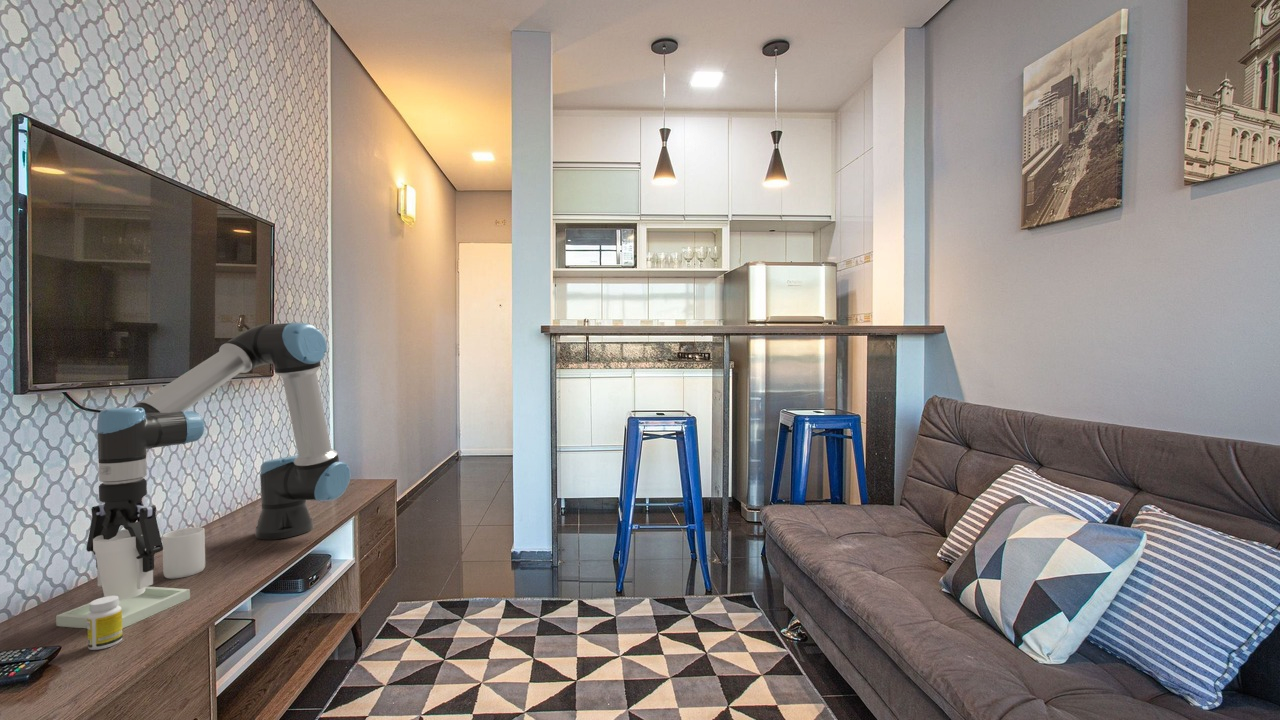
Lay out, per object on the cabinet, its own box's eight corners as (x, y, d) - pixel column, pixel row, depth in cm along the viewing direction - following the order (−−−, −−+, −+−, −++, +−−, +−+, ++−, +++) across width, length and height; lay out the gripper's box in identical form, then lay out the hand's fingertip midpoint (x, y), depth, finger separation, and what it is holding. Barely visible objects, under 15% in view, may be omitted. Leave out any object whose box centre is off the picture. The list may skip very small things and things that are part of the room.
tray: (135, 594, 129) (134, 585, 129) (189, 598, 126) (189, 589, 126) (56, 625, 114) (56, 615, 114) (116, 631, 111) (116, 620, 111)
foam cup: (83, 607, 114) (81, 543, 114) (112, 589, 123) (110, 530, 123) (139, 600, 117) (137, 538, 116) (163, 583, 126) (162, 525, 125)
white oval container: (176, 564, 147) (175, 525, 147) (214, 560, 150) (213, 521, 150) (157, 581, 136) (156, 539, 136) (199, 575, 139) (198, 534, 139)
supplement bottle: (129, 637, 109) (128, 594, 109) (107, 650, 104) (105, 605, 104) (104, 638, 108) (102, 595, 108) (80, 651, 104) (79, 605, 104)
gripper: (60, 483, 118) (63, 589, 118) (147, 485, 114) (150, 595, 114) (100, 475, 125) (103, 575, 126) (183, 477, 121) (186, 581, 122)
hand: (125, 585), depth 120 cm, fingers closed on foam cup, 9 cm apart
